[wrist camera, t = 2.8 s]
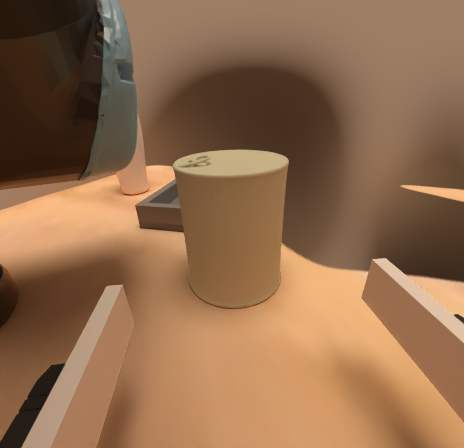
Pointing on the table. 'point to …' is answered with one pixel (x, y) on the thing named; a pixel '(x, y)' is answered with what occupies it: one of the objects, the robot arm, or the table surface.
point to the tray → (161, 210)
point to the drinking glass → (135, 169)
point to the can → (232, 223)
